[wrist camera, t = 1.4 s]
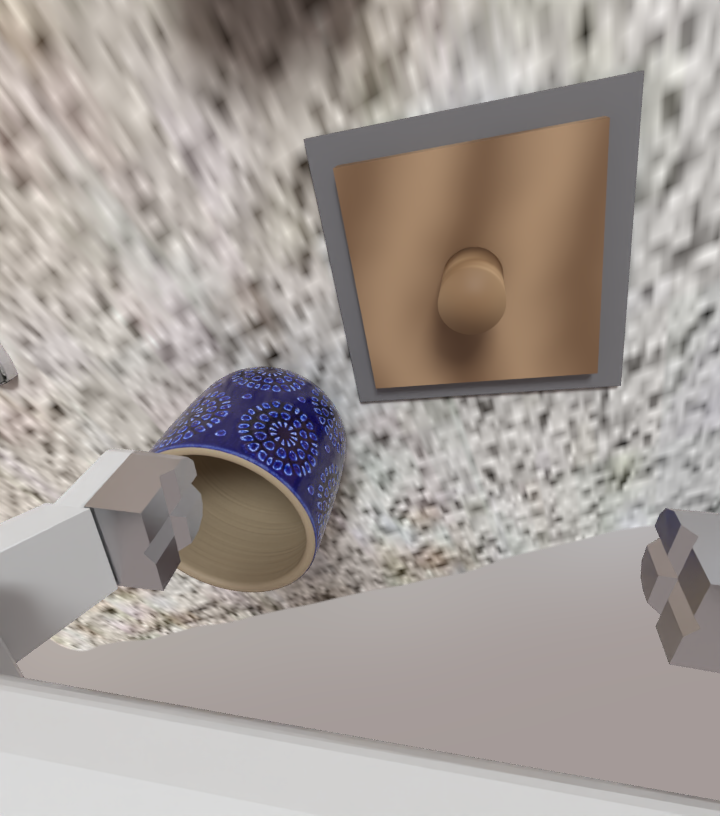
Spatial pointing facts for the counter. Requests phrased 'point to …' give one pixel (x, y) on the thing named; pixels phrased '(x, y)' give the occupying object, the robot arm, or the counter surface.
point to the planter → (259, 476)
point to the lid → (481, 255)
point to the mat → (478, 122)
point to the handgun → (6, 367)
